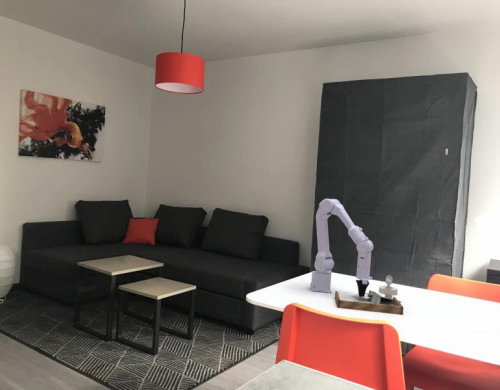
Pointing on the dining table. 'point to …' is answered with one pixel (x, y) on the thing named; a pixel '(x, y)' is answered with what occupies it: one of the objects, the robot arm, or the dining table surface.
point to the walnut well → (370, 305)
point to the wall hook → (388, 287)
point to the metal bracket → (378, 297)
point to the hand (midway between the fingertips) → (361, 296)
